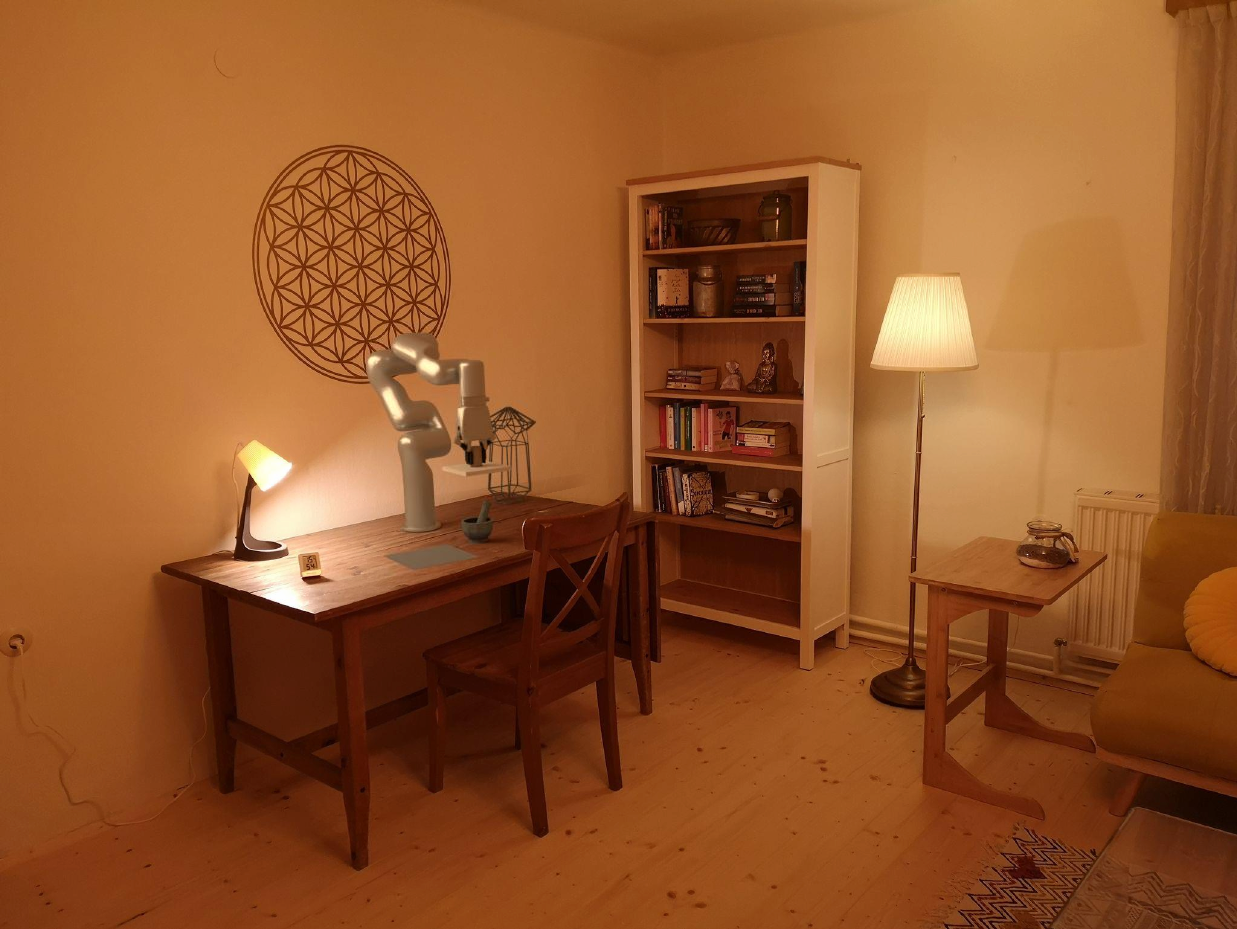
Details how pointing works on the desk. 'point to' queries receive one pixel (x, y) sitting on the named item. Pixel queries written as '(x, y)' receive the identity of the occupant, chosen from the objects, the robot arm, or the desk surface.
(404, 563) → the slate mat
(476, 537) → the mortar and pestle
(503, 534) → the desk surface
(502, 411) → the geometric lantern
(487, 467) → the cover board
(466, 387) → the robot arm
